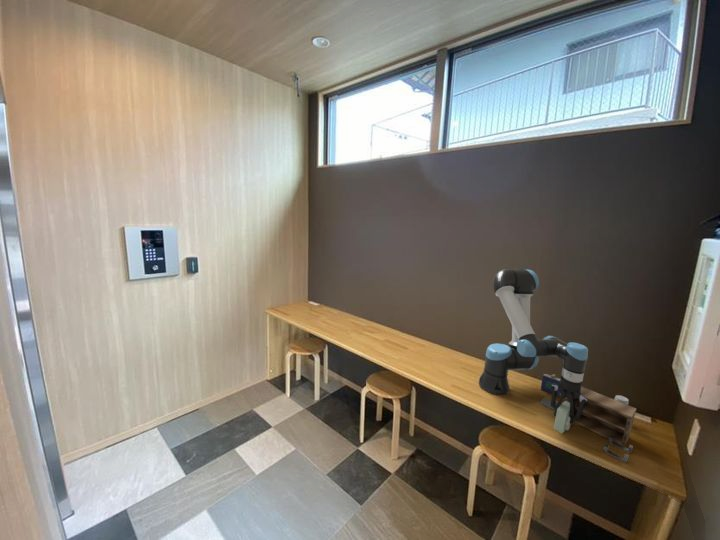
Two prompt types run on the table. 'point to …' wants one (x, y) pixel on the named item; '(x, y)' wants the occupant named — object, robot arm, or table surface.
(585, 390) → the cabinet
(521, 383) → the table surface
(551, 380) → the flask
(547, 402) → the smartphone
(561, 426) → the pale green square block
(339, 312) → the table surface
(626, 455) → the hinge clips
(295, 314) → the table surface
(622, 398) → the beverage can
